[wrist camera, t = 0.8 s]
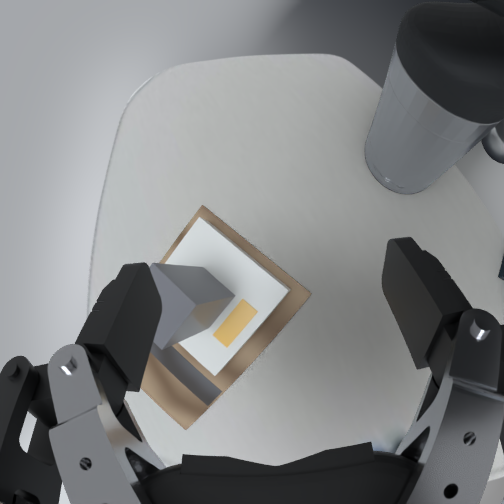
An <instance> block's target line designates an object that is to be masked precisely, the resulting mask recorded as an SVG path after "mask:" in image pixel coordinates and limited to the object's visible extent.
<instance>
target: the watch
mask: <svg viewBox="0 0 504 504" xmlns="http://www.w3.org/2000/svg"><path fill="white" fill-rule="evenodd" d="M498 277H499V278H501V279H502V280H504V256H503V260H502V264H501V268H500V272H499V276H498Z"/></svg>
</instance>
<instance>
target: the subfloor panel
mask: <svg viewBox="0 0 504 504" xmlns="http://www.w3.org/2000/svg"><path fill="white" fill-rule="evenodd" d="M199 217H201V218H203V219H205V220H207V221H209V222H210V223H211V224H213V225H214V226H215V227H216V228H217V229H219V230H220V231H221V232H222V233H223V234H225V235H226V236H227V237H228V238H229V239H231V240H232V241H233V242H234V243H235V244H237V245H238V246H239V247H240V248H242V249H243V250H244V251H245V252H246V253H248V254H249V255H250V256H251V257H252V258H254V259H255V260H256V261H257V262H259V263H260V264H261V265H262V266H263V267H265V268H266V269H267V270H268V271H269V272H271V273H272V274H273V275H274V276H276V277H277V278H278V279H279V280H280V281H282V282H283V283H284V284H285V285H286V286H288V287H289V288H290V289H291V290H290V291H289V293H288V294H287V295H286V296H285V297H284V299H283V300H282V301H281V302H280V303H279V305H278V306H277V307H276V308H275V309H274V311H273V312H272V313H271V314H270V315H269V317H268V318H267V319H266V320H265V321H264V322H263V324H262V325H261V326H260V327H259V328H258V329H257V331H256V332H255V333H254V334H253V335H252V336H251V337H250V339H249V340H248V341H247V342H246V343H245V344H244V345H243V347H242V348H241V349H240V350H239V351H238V352H237V353H236V355H235V356H234V357H233V358H232V359H231V360H230V361H229V362H228V363H227V365H226V366H225V367H224V368H223V369H222V370H221V371H220V372H219V373H218V374H217V375H216V376H214V375H213V374H212V373H211V372H210V371H209V370H207V369H206V368H205V367H204V366H203V365H202V364H201V363H200V362H199V361H197V360H196V359H195V358H194V357H193V356H192V355H191V354H190V353H189V352H188V351H187V350H186V349H185V348H183V347H182V346H181V345H180V344H179V343H176V344H174V345H172V346H170V347H167V348H165V349H163V350H161V349H160V348H159V347H158V346H157V345H156V344H155V343H154V342H153V344H152V347H151V351H150V354H149V358H148V361H147V365H146V368H145V372H144V376H143V379H142V383H141V387H140V388H141V389H142V390H143V391H144V392H145V393H146V394H147V395H148V396H149V397H150V398H151V399H152V400H153V401H154V402H155V403H157V404H158V405H159V406H160V407H161V408H162V409H163V410H164V411H165V412H166V413H167V414H168V415H169V416H170V417H172V418H173V419H174V420H175V421H176V422H177V423H178V424H179V425H180V426H182V427H183V428H184V429H185V430H186V429H188V428H189V427H190V426H191V425H192V424H193V423H194V422H195V421H196V420H197V419H198V418H199V417H200V416H201V415H202V414H203V413H204V412H205V411H206V410H207V409H208V408H209V407H210V406H211V405H212V404H213V403H214V402H215V401H216V400H217V399H218V398H219V397H220V396H221V395H222V394H223V393H224V392H225V391H226V390H227V389H228V388H229V387H230V386H231V384H232V383H233V382H234V381H235V380H236V379H237V378H238V377H239V376H240V375H241V374H242V373H243V372H244V371H245V370H246V369H247V367H248V366H249V365H250V364H251V363H252V362H253V361H254V360H255V359H256V358H257V357H258V355H259V354H260V353H261V352H262V351H263V350H264V349H265V348H266V347H267V345H268V344H269V343H270V342H271V341H272V340H273V339H274V338H275V336H276V335H277V334H278V333H279V332H280V331H281V330H282V328H283V327H284V326H285V325H286V324H287V323H288V321H289V320H290V319H291V318H292V317H293V316H294V314H295V313H296V312H297V311H298V310H299V308H300V307H301V306H302V305H303V304H304V302H305V301H306V300H307V299H308V298H309V296H310V295H311V293H310V292H309V291H308V290H306V289H305V288H304V287H303V286H301V285H300V284H299V283H298V282H297V281H295V280H294V279H293V278H292V277H290V276H289V275H288V274H287V273H286V272H284V271H283V270H282V269H281V268H279V267H278V266H277V265H276V264H275V263H273V262H272V261H271V260H270V259H268V258H267V257H266V256H265V255H263V254H262V253H261V252H260V251H259V250H257V249H256V248H255V247H254V246H252V245H251V244H250V243H249V242H248V241H246V240H245V239H244V238H243V237H241V236H240V235H239V234H238V233H236V232H235V231H234V230H233V229H232V228H230V227H229V226H228V225H227V224H225V223H224V222H223V221H222V220H220V219H219V218H218V217H217V216H215V215H214V214H213V213H212V212H211V211H209V210H208V209H207V208H206V207H204V206H203V205H202V206H201V207H200V209H199V210H198V211H197V213H196V214H195V215H194V217H193V218H192V219H191V220H190V222H189V223H188V224H187V226H186V227H185V228H184V230H183V231H182V232H181V234H180V235H179V237H178V238H177V239H176V241H175V242H174V243H173V245H172V246H171V247H170V249H169V250H168V252H167V253H166V254H165V256H164V257H163V259H162V260H161V261H160V264H165V262H166V261H167V260H168V258H169V257H170V256H171V254H172V253H173V251H174V250H175V249H176V247H177V246H178V245H179V243H180V242H181V241H182V239H183V238H184V236H185V235H186V234H187V232H188V231H189V230H190V228H191V227H192V226H193V225H194V223H195V222H196V221H197V219H198V218H199Z"/></svg>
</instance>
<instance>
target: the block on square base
mask: <svg viewBox="0 0 504 504" xmlns="http://www.w3.org/2000/svg"><path fill="white" fill-rule="evenodd" d="M150 271H151V274H152V276H153V279H154V281H155V284H156V287H157V289H158V292H159V294H160V297H161V300H162V314H161V318H160V321H159V324H158V327H157V331H156V334H155V337H154V341H153V342H154V343H155V344H156V345H157V346H158V347H159V348H160V349H161V350H163V349H165V348H167V347H170V346H172V345H174V344H176V343H179V344H180V345H181V346H182V347H183V348H185V349H186V350H187V351H188V352H189V353H190V354H191V355H192V356H193V357H194V358H195V359H196V360H197V361H199V362H200V363H201V364H202V365H203V366H204V367H205V368H206V369H207V370H209V371H210V372H211V373H212V374H213V375H214V376H216V375H217V374H218V373H219V372H220V371H221V370H222V369H223V368H224V367H225V366H226V365H227V363H228V362H229V361H230V360H231V359H232V358H233V357H234V356H235V355H236V353H237V352H238V351H239V350H240V349H241V348H242V347H243V345H244V344H245V343H246V342H247V341H248V340H249V339H250V337H251V336H252V335H253V334H254V333H255V332H256V331H257V329H258V328H259V327H260V326H261V325H262V324H263V322H264V321H265V320H266V319H267V318H268V317H269V315H270V314H271V313H272V312H273V311H274V309H275V308H276V307H277V306H278V305H279V303H280V302H281V301H282V300H283V299H284V297H285V296H286V295H287V294H288V293H289V291H290V290H291V289H290V288H289V287H288V286H286V285H285V284H284V283H283V282H282V281H280V280H279V279H278V278H277V277H276V276H274V275H273V274H272V273H271V272H269V271H268V270H267V269H266V268H265V267H263V266H262V265H261V264H260V263H259V262H257V261H256V260H255V259H254V258H252V257H251V256H250V255H249V254H248V253H246V252H245V251H244V250H243V249H242V248H240V247H239V246H238V245H237V244H235V243H234V242H233V241H232V240H231V239H229V238H228V237H227V236H226V235H225V234H223V233H222V232H221V231H220V230H219V229H217V228H216V227H215V226H214V225H213V224H211V223H210V222H209V221H207V220H205V219H203V218H201V217H199V218H198V219H197V221H196V222H195V223H194V225H193V226H192V227H191V228H190V230H189V231H188V232H187V234H186V235H185V236H184V238H183V239H182V241H181V242H180V243H179V245H178V246H177V247H176V249H175V250H174V251H173V253H172V254H171V256H170V257H169V258H168V260H167V261H166V262H165V264H160V263H152V265H151V266H150Z"/></svg>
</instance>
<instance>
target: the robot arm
mask: <svg viewBox="0 0 504 504" xmlns="http://www.w3.org/2000/svg"><path fill="white" fill-rule="evenodd" d="M470 1H472V2H474V3H450V2H425V3H420V4H418V5H415V6H413V7H412V8H410V9H409V10H408V11H407V12H406V13H405V15H404V16H403V18H402V21H401V24H400V27H399V31H398V35H397V39H396V43H395V47H394V51H393V55H392V59H391V62H390V66H389V70H388V74H387V77H386V81H385V84H384V87H383V91H382V94H381V97H380V101H379V104H378V107H377V110H376V113H375V116H374V120H373V123H372V125H371V128H370V131H369V134H368V137H367V140H366V144H365V158H366V161H367V165H368V167H369V169H370V171H371V173H372V174H373V175H374V177H375V178H376V179H377V180H378V181H379V182H380V183H381V184H382V185H384V186H385V187H387V188H388V189H390V190H393V191H395V192H397V193H403V194H414V193H417V192H420V191H422V190H424V189H426V188H427V187H428V186H429V185H430V184H432V183H433V182H434V181H435V180H436V179H438V178H439V177H440V176H441V175H442V174H443V173H445V172H446V171H447V170H448V169H449V168H450V167H452V166H453V165H454V164H455V163H456V162H457V161H458V160H459V159H461V158H462V157H463V156H464V155H465V154H466V153H467V152H468V151H470V149H472V148H473V147H474V146H475V145H476V144H477V143H478V142H479V141H481V140H482V139H483V138H484V137H485V136H486V135H487V134H488V133H489V132H490V131H491V130H492V129H493V128H494V127H495V126H496V125H497V124H498V123H499V122H500V121H501V120H502V119H503V118H504V0H470ZM382 288H383V292H384V295H385V297H386V299H387V301H388V304H389V306H390V308H391V310H392V312H393V314H394V316H395V319H396V321H397V323H398V325H399V328H400V330H401V332H402V334H403V337H404V339H405V341H406V344H407V346H408V349H409V351H410V353H411V356H412V358H413V361H414V363H415V366H416V368H417V370H418V369H422V368H425V367H430V369H431V372H432V373H431V374H430V376H429V379H428V382H427V385H426V388H425V391H424V393H423V396H422V399H421V402H420V404H419V407H418V410H417V412H416V415H415V417H414V420H413V422H412V424H411V427H410V429H409V430H408V432H407V434H406V435H405V437H404V439H403V440H402V442H401V444H400V445H399V447H398V449H397V451H396V453H395V454H393V453H389V452H382V451H373V448H372V443H371V442H367V443H362V444H357V445H352V446H347V447H342V448H336V449H329V450H325V451H322V452H319V453H317V454H314V455H311V456H308V457H305V458H303V459H300V460H297V461H294V462H290V463H287V464H284V465H280V466H270V465H264V464H259V463H254V462H249V461H244V460H240V459H236V458H231V457H226V456H199V455H185V454H183V456H182V464H178V465H174V466H170V467H167V468H166V466H165V465H164V463H163V462H162V461H161V459H160V458H159V457H158V456H157V455H156V453H155V452H154V451H153V450H152V449H151V447H150V446H149V444H148V442H147V441H146V439H145V437H144V435H143V433H142V431H141V429H140V427H139V426H138V424H137V422H136V420H135V418H134V416H133V414H132V412H131V409H130V407H129V405H128V403H127V402H126V400H125V399H124V397H125V393H126V391H134V392H139V391H140V387H141V383H142V379H143V376H144V372H145V368H146V365H147V361H148V358H149V354H150V351H151V347H152V344H153V341H154V337H155V334H156V331H157V327H158V324H159V321H160V318H161V314H162V300H161V297H160V294H159V292H158V289H157V287H156V284H155V281H154V279H153V276H152V274H151V271H150V268H149V266H148V265H147V264H146V263H145V262H143V263H133V264H125V265H123V267H122V268H121V270H120V272H119V274H118V276H117V277H116V279H115V280H112V281H111V282H110V283H109V284H108V285H107V286H106V287H105V288H104V289H103V290H102V292H101V294H100V296H99V297H98V299H97V303H95V305H94V307H93V309H92V312H90V314H89V316H88V318H87V320H86V322H85V324H84V326H83V328H82V330H81V332H80V334H79V336H78V338H77V340H76V342H75V344H70V345H66V346H64V347H62V348H60V349H59V350H58V351H57V352H56V353H55V354H54V355H53V356H52V358H51V359H50V361H49V364H44V365H40V366H33V365H32V364H31V363H30V362H29V361H28V359H27V358H26V357H24V356H17V357H14V358H12V359H11V360H10V361H8V362H7V363H6V365H5V366H4V367H3V369H2V371H1V373H0V504H58V503H59V497H60V491H61V485H62V482H63V485H64V487H65V490H66V493H67V495H68V498H69V501H70V503H71V504H479V503H480V500H481V498H482V495H483V492H484V490H485V487H486V484H487V481H488V478H489V475H490V472H491V468H492V465H493V462H494V458H495V454H496V450H497V446H498V442H499V438H500V441H501V445H502V449H503V453H504V325H500V324H499V323H498V321H497V320H496V318H495V317H494V316H493V315H491V314H490V313H488V312H487V311H484V310H481V309H473V308H472V306H471V305H470V303H469V302H468V300H467V299H466V298H465V296H464V295H463V293H462V292H461V290H460V289H459V287H458V286H457V285H456V283H455V282H454V280H453V279H451V276H450V275H449V274H448V272H447V271H445V268H444V267H443V266H442V264H441V263H440V262H439V260H438V259H437V258H436V257H434V256H433V255H431V254H430V253H428V252H427V251H426V250H424V251H422V250H421V248H420V247H419V246H418V245H417V243H416V242H415V241H414V240H413V238H411V237H405V238H395V239H390V240H389V241H388V244H387V249H386V256H385V262H384V268H383V274H382ZM27 411H28V412H29V413H31V414H32V415H33V416H34V417H35V418H37V421H36V424H35V428H34V431H33V434H32V438H31V441H30V445H29V449H28V452H27V453H26V452H25V451H23V449H22V448H21V446H20V443H19V437H20V433H21V430H22V427H23V423H24V420H25V417H26V414H27ZM501 504H504V498H503V499H502V502H501Z"/></svg>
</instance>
